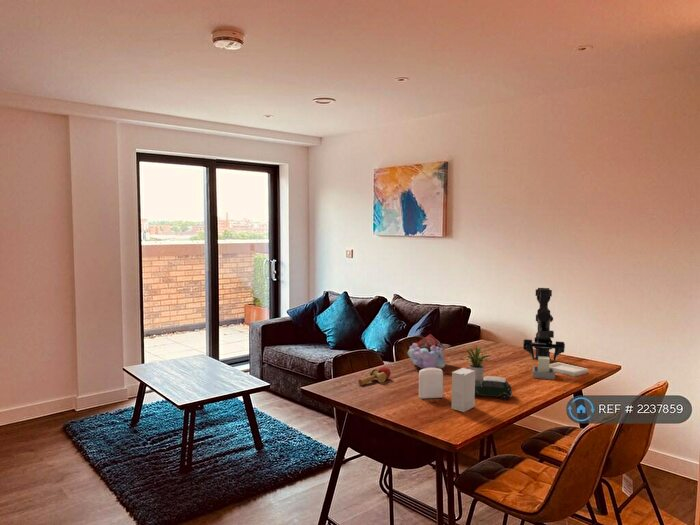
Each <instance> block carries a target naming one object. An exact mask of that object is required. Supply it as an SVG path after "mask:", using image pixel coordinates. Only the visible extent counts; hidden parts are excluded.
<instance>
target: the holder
mask: <svg viewBox="0 0 700 525" xmlns="http://www.w3.org/2000/svg"><path fill="white" fill-rule="evenodd" d="M555 374H556V372H554V368H549V372H538V366H532V379H540V380H541V379H542V380H543V379H544V380H554V381H555V380H556V378H555V377H556V376H555Z"/></svg>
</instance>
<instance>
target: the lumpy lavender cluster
mask: <svg viewBox="0 0 700 525" xmlns="http://www.w3.org/2000/svg"><path fill="white" fill-rule="evenodd" d="M450 347H452V345H451V344H446V343H441V342H440V341H439V340H438V339H436V337H435V336H434V335H432V334H431V333H430V334H428V335H426V337H423V338H422V339H421V340H419V341H418V342H413V343H412V345H410V346H409V349H408V351H407V355H408V357H409V358H410V359H411V361H412V363H413V365H416V366H417V367H419V368H420V369H425V368H438V369H441V370H442V369H443V368H445V365H446V360H445V358H444V357H445V354H444V353H443V351H445V350H446V349H448V348H450Z"/></svg>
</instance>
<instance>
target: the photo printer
mask: <svg viewBox="0 0 700 525" xmlns="http://www.w3.org/2000/svg"><path fill="white" fill-rule="evenodd" d="M418 397H419V398H418V399H436V398H437V399H440V398H443V397H444V372H443V370H442V368H441V369H438V368H421V369H420V370H419V371H418Z"/></svg>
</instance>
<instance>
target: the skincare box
mask: <svg viewBox="0 0 700 525" xmlns="http://www.w3.org/2000/svg"><path fill="white" fill-rule="evenodd" d="M451 373H452V375H451V407H450V408H451V410H456V411H458V412H462V413H466V412H467V411H469V410H471V409H473V408H475V401H476V399H475V398H476V397H475V371H474V370H470V369H469V368H465V367H462V368H459V369H456V370H455V371H452V372H451Z"/></svg>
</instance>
